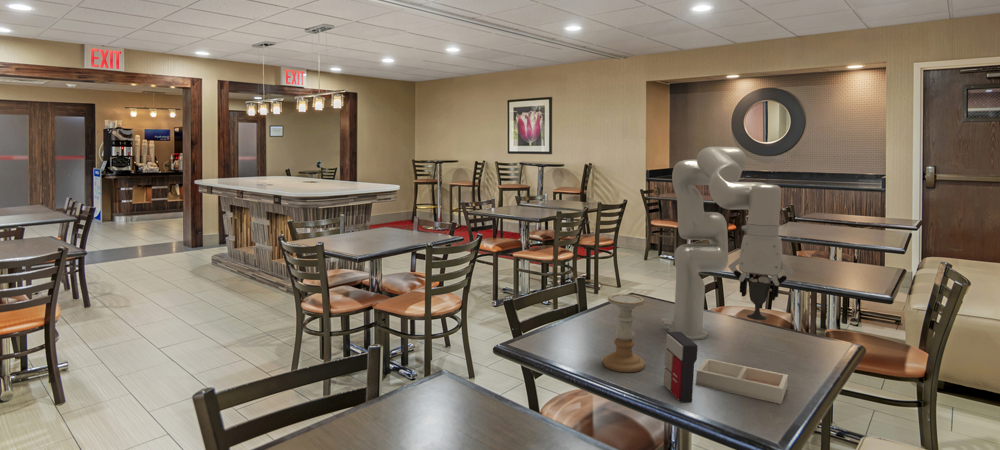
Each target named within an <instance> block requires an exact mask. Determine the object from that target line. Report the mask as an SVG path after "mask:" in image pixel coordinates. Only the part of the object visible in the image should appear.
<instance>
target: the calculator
mask: <svg viewBox="0 0 1000 450" xmlns="http://www.w3.org/2000/svg"><path fill="white" fill-rule="evenodd" d="M665 343H666V345H665V347H666V348H665V349H664V350H665V351H664V366H665V367H664V373H663V385H664V386H665V387H666V388H667V389H668V390H669V391H670V393H671V394H672V395H673V396H674V397H675V399H677V400H678V401H679V402H680V403H692V401H693V391H694V390H693V389H694V375H695V373H694V372H695V363H696V362H697V359H698V348H699V347H698V344H697V343H695V342H694V341H693V340H691V339H689V338H688V337H687V336H685V335H684V334H683V333H682V332H669V331H668V332H667V334H666V342H665Z"/></svg>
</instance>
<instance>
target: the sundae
mask: <svg viewBox="0 0 1000 450" xmlns="http://www.w3.org/2000/svg"><path fill="white" fill-rule="evenodd" d="M748 275H749V277H748V278H746V280H747V285H748V293H749V299H750V302H752V304H754V312H753V313H751V314H747V315H746V317H747V318H748V319H751V320H755V321H756V320H757V321H766V320H767V319H768V317H766V316H764V315H762V314H761V312H760V311H761V310H760V308H761V305H763V304H764V303H766V302H767V300H768V296H769V291H770V286H772V285H773V283H774V282H773V280H772V279H771V278H770V276H768V275H759V274H750V273H748Z"/></svg>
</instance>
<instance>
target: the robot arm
mask: <svg viewBox="0 0 1000 450" xmlns="http://www.w3.org/2000/svg"><path fill="white" fill-rule="evenodd" d="M746 165H747V156H746V154H745V152H744V151H743V150H742V149H741V148H739V147H738V146H737V147H736V146H708V147H704V148H702V149H701V150H700V151H699V152H698V154H697V156H696V159H684V160H680V161H678V162H677V163H675V165H674V167H673V168H672V169H673V170H672V174H671V177H672V179H671V180H672V186H673V190H674V193H675V197H676V205H677V209H676V210H677V230H678V234H679V237H680V238H682V239H683V240H688V241H689V240H693V241H695V240H697V241H701V240H703V241H708V243H685V244H684V243H683V244H681V245H679V246H678V247H676V249H675V250H674V256H673V257H674V267H675V293H674V314H673V318H671V319H670V318H666V317H662V319H661V324H663V325H664V326H669V328H668V332H682V333H683V334H684V335H685V336H687V337H688V338H689V339H690V340H692V341H693V340H702V339H706V338H707V336H708V332H707V331H706V330H705V329H704V328H703V326H704V325H703V324H704V312H705V311H704V308H705V297H706V296H705V295H706V293H705V292H706V285H705V282H704V279H702V277H701V276H700V274H699V273H705V272H706V273H709V272H710V273H711V272H712V273H713V272H714V273H715V272H716V273H717V272H722V271H725V269H726V268H727V266H728V268H729V269H730V271H731V272H732V273H733V274H734V276H735V277H736V278H737V279H738V281H739V293H741V297H745V296H746V295H747V292H748V281H747V280H746V279H747V277H748V275H749V273H750V274H759V275H768V277H771V278H770V279H771V280H772V281H773V284H771V290H770V291H771V294H770V300H771V301H776V298H778V297H779V289H780V285H781V284H782V283H784V282H785V281H787V279H789V278H790V277H791V276H793V275H794V273H795V272H794V270H793V269H791V267H789V265H788V264H786V263H785V262H784V260H783V242H782V237H781V236H779V234H780V233H779V231H780V215H781V214H780V213H781V202H782V188H781V187H780V186H779V185H777V184H769V183H768V184H767V183H766V182H760V181H759V182H758V181H756V182H755V181H754V182H752V181H750V182H749V181H740V178H741V176H742V172H743V171H744V170H745V168H746ZM696 185H697V186H708V192H709V196H710V198H711V199H712V200H713V201H714V203H716V205H718V206H719V207H720V208H722V209H725V210H747V211H748V213H747V214H748V216H747V223H746V224H745V225H741V231H744V232H745V233H746V234H744V235H743V237H742V240H741V241H742V242H741V245H740V251H739V258H737V259H736V260H735V261H733V262H731V263H730V264H729V241H728V234H729V233H728V224H727V220H726V218H725V216H724V215H723V214H721V213H720V212H717V211H715V212H714V211H705V209H704V198H703V197H704V196H703V195H702V194H701V192H700V190H698V188H697V187H696ZM737 266H738V268H737ZM783 270H784V272H785V273H784V274H783V275H782V276H780V277H779V275H780V274H781V273H782V271H783ZM741 272H742V273H741Z"/></svg>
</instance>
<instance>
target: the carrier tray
mask: <svg viewBox="0 0 1000 450" xmlns="http://www.w3.org/2000/svg"><path fill="white" fill-rule="evenodd" d="M695 378H696V379H695V385H696V386H701V387H705V388H709V389H713V390H718V391H722V392H726V393H732V394H735V395H740V396H744V397H749V398H752V399H757V400H760V401H766V402H769V403H770V402H771V403H773V404H779V405H782V403H783V401H784V398H785V396H786V394H787V390H788V380H789V374H785V373H782V372H781V373H779V372H776V371H775V372H774V371H770V370H766V369H761V368H755V367H751V366H747V365H746V366H745V365H741V364H737V363H736V364H735V363H732V362H725V361H721V360H716V359H712V358H706V359H705V360H703V362H702V363H701V364H700V366H699V367H698V368H697V370H696V376H695Z"/></svg>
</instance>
